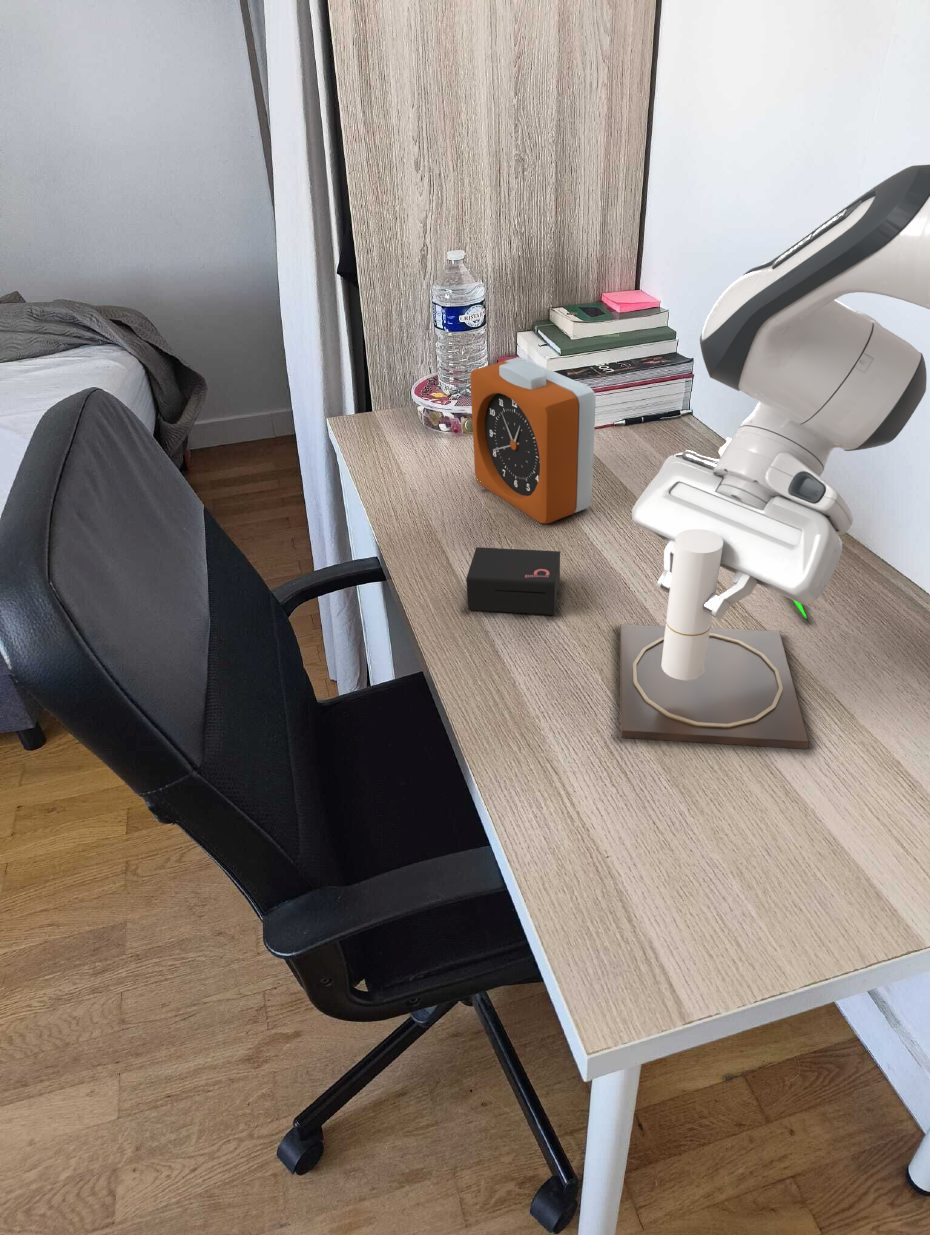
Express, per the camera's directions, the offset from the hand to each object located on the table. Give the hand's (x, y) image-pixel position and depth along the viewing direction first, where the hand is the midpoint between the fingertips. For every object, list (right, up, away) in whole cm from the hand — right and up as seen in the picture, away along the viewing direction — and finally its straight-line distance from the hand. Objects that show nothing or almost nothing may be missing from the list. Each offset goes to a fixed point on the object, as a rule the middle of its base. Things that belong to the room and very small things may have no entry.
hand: (687, 602), depth 81 cm
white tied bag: (+16, +14, +41) cm, 47 cm away
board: (+4, -9, +10) cm, 14 cm away
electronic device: (-15, +1, +25) cm, 29 cm away
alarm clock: (-11, +17, +47) cm, 51 cm away
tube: (+1, -7, +5) cm, 9 cm away
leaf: (+19, +2, +24) cm, 30 cm away
